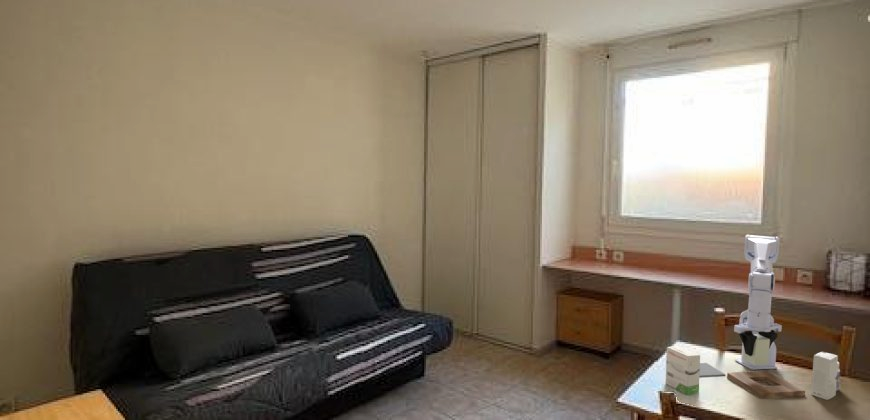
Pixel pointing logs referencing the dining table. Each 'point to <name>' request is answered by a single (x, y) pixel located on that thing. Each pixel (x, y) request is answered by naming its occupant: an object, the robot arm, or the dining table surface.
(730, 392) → the dining table surface
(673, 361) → the ink box
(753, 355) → the sage block
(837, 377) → the pill bottle
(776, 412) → the dining table surface
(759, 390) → the pocket block
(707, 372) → the rubber pad
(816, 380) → the skincare box
